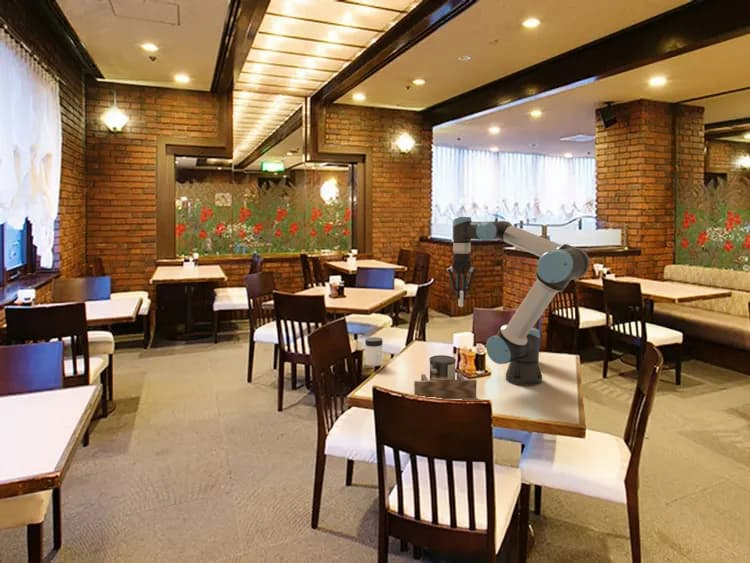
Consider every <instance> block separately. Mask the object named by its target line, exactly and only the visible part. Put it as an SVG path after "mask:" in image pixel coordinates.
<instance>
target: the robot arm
mask: <svg viewBox="0 0 750 563" xmlns="http://www.w3.org/2000/svg"><path fill="white" fill-rule="evenodd" d="M452 228H453V230H452V233H453V236H452V237H453V238H452V239H453V241H452V242H453V246H452V251H453V253H452V264H451V266H450V267H448V268H446V272H447V273H448V275H449V281H450V285H451V288H452V290H453V291H455V292H456V294H455V295H456V299H458V303H457V304H458V306H459V308H460V307H461V308H463V307H464V299H466V297H467V291H470V290H471V287H472V283H473V279H474V277H475V276H474V275H475V273H476V271H477V268H475V267H473V266H472V264H471V257H472V256H471V254H472V253H470V252H471V251H472V246H471V245H472V244H471V243H472V240H479V241H481V240H482V241H491V240H499V241H502V242H504V243H506V244H508V245H511V246H514V247H517V248H518V249H521V250H523V251H525V252H527V253H530V254H533V255H534V256H537V257H539V258H538V261H537V264H536V268H537V272H536V273H535V278H536V280H535V282H534V284H533V285H532V286H531V288H530V290H529V291H528V293H527V295H526V296H525V297H524V299H523V300H522V302H521V303H520V305H519V307H517V308H518V309H517V311H516V313H515V314H514V316H513V317H512V319H511V320H510V319H509V322H508V323H507V324H502V326H501V327H500V329H499V330H498V331H497V333H496V334H495V335H492V336H491V337H489V338H488V339H487V340H486V343H485V350H486V353H487V355H488V357H489V359H490V360H491V361H492V362H494V363H495V364H497V365H504V364H505V365H506V364H508V367H507V368H506V369H507V370H506V371H505V380H506V381H507V382H508V383H511V384H515V385H519V386H536V385H540V384H541V383H543V374H542V371H541V367H540V363H539V362H540V361H539V359H540V358H539V357H540V341H541V340H540V339H541V337H540V336H541V335H540V333H541V332H540V329H539V330H538V329H535V328H533V326H534V325H535V323H536V322H537V320H538V319H539V320H540V318H541V316H542V315H543V313H544V312H545V310H546V309H547V307H548V306H549V304H550V303H551V302H552V301H553V299H554V297H555V296H556V294H557V293H559V292H563V291H564V290H565V289H566V287H567V286H568V285H569V283H570V281H571V280H577V279H580V278H582V277H584V276H585V275H586V274H587V273H588V272H589V270H590V265H591V260H590V258H589V255H588V253H586V252H585V251H584V250H583V249H581V248H579V247H578V248H577V247H575V246H573V245H570V244H568V243H563V244H561V243H560V244H559V243H557V242H555V241H552V240H551V239H550V240H549V239H547V238H545V237H542V236H540V235H537V234H535V233H531V232H530V231H526V230H524V229H522V228H519V227H516V226H514V225H513V224H512V223H511V222H510V221H506V220H497V221H496V220H495V221H472V217H471V216H455V217H454V218H453V225H452ZM453 271H454V272H455V275H456V281H455V277H454V273H453ZM468 272H469V275H468V279H467V273H468ZM461 279H462V280H461Z"/></svg>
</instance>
